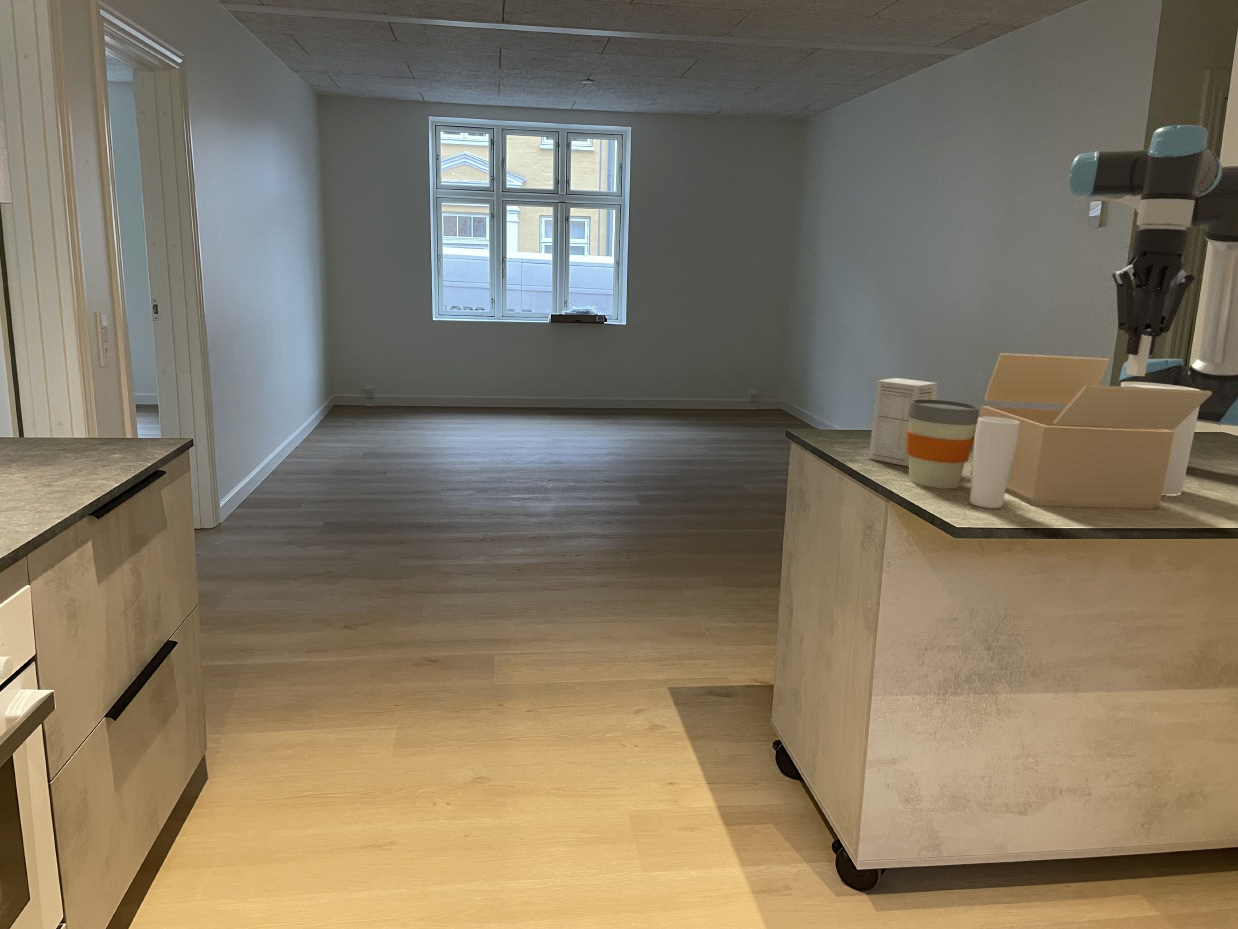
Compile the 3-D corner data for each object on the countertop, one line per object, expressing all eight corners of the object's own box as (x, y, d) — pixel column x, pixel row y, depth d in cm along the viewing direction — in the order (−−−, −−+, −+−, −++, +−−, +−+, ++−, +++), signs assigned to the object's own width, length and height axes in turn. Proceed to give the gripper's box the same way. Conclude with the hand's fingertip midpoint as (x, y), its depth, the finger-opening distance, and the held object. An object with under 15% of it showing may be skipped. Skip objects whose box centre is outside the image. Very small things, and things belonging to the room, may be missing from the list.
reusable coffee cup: (884, 476, 170) (894, 399, 167) (930, 472, 176) (940, 398, 173) (936, 493, 160) (948, 410, 156) (983, 488, 166) (995, 409, 162)
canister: (1183, 500, 166) (1205, 394, 161) (1102, 487, 172) (1121, 385, 168) (1179, 486, 177) (1199, 387, 173) (1103, 475, 184) (1121, 379, 179)
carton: (1083, 479, 179) (1095, 411, 176) (1158, 509, 157) (1174, 432, 154) (970, 475, 176) (981, 405, 173) (1031, 505, 155) (1044, 426, 152)
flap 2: (1210, 390, 145) (1212, 393, 145) (1172, 426, 153) (1173, 429, 153) (1085, 384, 143) (1086, 387, 142) (1053, 421, 151) (1054, 424, 151)
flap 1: (1090, 405, 176) (1088, 403, 176) (1109, 359, 170) (1108, 358, 171) (985, 400, 173) (983, 399, 174) (1001, 354, 168) (1000, 352, 168)
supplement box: (929, 462, 187) (940, 382, 183) (909, 467, 180) (920, 385, 176) (887, 453, 193) (896, 376, 189) (866, 458, 186) (876, 379, 183)
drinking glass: (957, 499, 156) (970, 415, 152) (994, 500, 156) (1007, 417, 153) (976, 510, 149) (989, 422, 146) (1014, 511, 150) (1028, 424, 146)
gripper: (1183, 231, 146) (1155, 373, 152) (1109, 226, 145) (1084, 370, 150) (1217, 230, 139) (1187, 379, 144) (1140, 225, 138) (1112, 376, 143)
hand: (1135, 374), depth 147 cm, fingers closed
